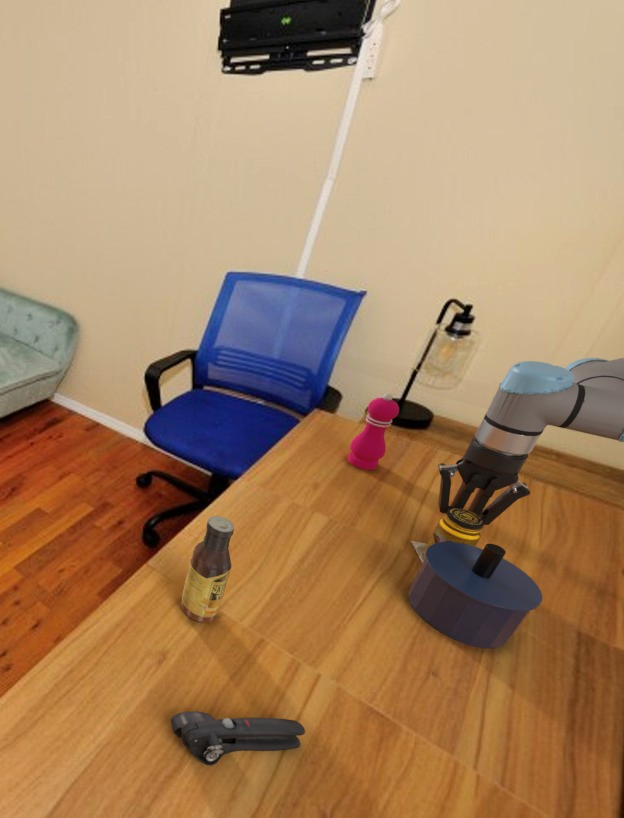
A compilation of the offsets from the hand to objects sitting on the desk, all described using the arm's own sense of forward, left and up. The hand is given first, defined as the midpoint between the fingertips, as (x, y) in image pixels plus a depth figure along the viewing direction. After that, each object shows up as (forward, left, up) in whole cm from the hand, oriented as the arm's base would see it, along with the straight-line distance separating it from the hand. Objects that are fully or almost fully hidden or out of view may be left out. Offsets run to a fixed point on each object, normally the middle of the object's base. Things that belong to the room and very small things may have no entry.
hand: (446, 542), depth 101 cm
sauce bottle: (+34, +45, -2) cm, 56 cm away
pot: (-2, +18, -2) cm, 18 cm away
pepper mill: (+16, -26, -2) cm, 31 cm away
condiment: (0, +4, -2) cm, 4 cm away
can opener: (+22, +64, -2) cm, 68 cm away
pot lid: (-2, +18, +7) cm, 19 cm away
